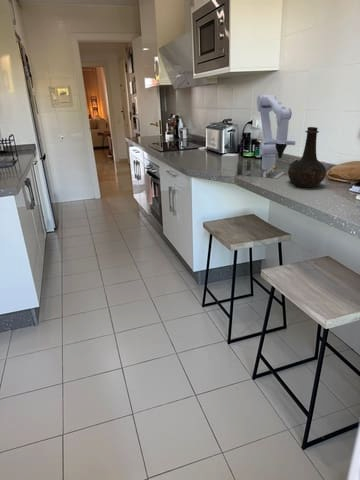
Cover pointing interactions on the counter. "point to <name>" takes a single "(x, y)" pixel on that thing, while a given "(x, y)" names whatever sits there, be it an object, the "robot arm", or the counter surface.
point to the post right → (248, 164)
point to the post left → (240, 168)
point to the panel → (265, 175)
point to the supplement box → (230, 165)
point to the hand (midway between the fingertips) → (280, 158)
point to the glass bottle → (308, 164)
